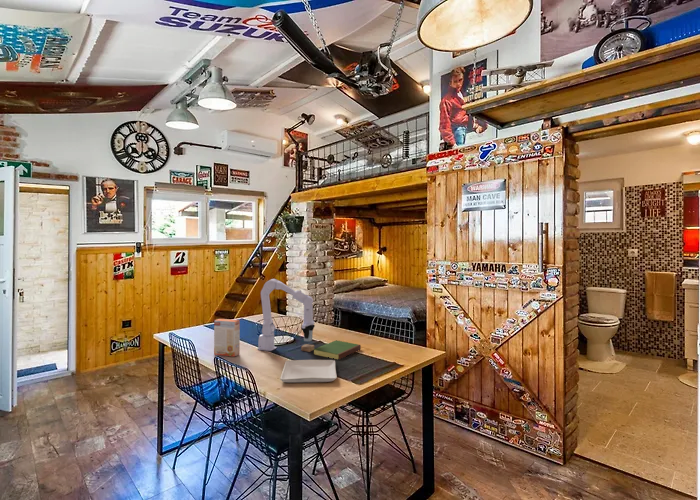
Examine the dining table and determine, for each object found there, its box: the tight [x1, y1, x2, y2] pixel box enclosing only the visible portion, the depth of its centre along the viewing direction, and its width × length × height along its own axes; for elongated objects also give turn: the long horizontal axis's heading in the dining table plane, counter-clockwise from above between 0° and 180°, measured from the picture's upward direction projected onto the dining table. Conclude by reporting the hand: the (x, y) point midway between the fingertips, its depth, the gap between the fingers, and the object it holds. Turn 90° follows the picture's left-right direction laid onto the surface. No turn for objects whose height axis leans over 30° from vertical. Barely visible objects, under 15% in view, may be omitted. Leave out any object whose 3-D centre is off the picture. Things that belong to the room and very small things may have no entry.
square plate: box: [279, 359, 338, 383], centre depth 195 cm, size 27×27×4 cm
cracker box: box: [213, 318, 241, 358], centre depth 227 cm, size 14×6×21 cm, turn 74°
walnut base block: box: [300, 343, 315, 353], centre depth 238 cm, size 6×6×3 cm
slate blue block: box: [303, 329, 314, 342], centre depth 238 cm, size 4×4×6 cm
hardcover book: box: [313, 340, 362, 360], centre depth 235 cm, size 25×19×4 cm
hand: (308, 337), depth 238 cm, fingers closed on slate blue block, 4 cm apart
